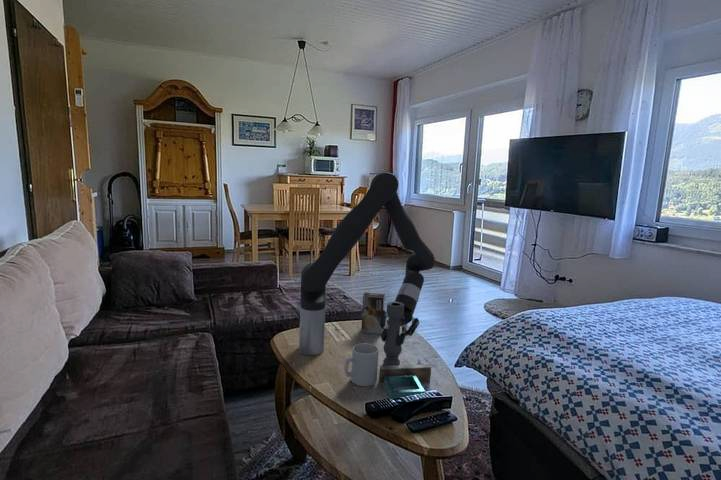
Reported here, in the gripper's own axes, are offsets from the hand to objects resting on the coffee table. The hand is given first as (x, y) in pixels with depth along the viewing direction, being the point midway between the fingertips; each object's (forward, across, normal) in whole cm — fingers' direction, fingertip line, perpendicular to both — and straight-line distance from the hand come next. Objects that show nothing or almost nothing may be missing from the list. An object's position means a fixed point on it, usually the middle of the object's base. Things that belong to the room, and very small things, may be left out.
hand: (390, 342), depth 134 cm
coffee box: (-14, -23, +32) cm, 41 cm away
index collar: (+14, +8, +4) cm, 16 cm away
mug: (+15, -7, +3) cm, 16 cm away
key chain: (+2, +6, +17) cm, 18 cm away
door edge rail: (+9, +6, +9) cm, 13 cm away
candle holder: (+7, 0, +10) cm, 12 cm away
